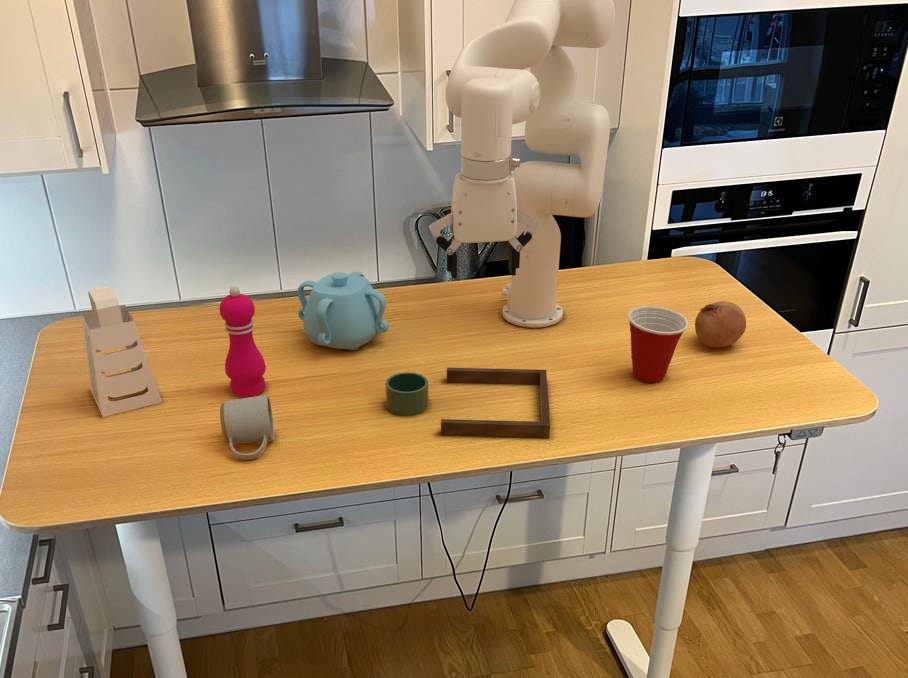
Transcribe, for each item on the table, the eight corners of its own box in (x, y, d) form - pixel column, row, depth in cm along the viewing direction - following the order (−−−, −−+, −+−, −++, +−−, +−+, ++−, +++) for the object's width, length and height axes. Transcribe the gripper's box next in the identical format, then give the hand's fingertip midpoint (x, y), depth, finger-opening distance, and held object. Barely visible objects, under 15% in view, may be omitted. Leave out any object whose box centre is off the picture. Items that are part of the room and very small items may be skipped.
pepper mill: (275, 382, 171) (262, 281, 160) (256, 401, 166) (242, 297, 154) (240, 377, 173) (225, 276, 162) (221, 395, 168) (204, 292, 156)
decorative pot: (394, 350, 182) (392, 285, 174) (313, 362, 178) (308, 296, 170) (372, 316, 194) (370, 254, 187) (297, 327, 190) (291, 264, 183)
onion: (698, 362, 183) (683, 323, 177) (707, 331, 188) (693, 292, 182) (747, 356, 177) (733, 315, 171) (755, 324, 182) (742, 284, 177)
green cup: (378, 403, 165) (377, 380, 162) (412, 390, 168) (412, 368, 166) (402, 420, 160) (401, 397, 157) (436, 407, 164) (436, 384, 161)
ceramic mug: (226, 429, 158) (219, 390, 153) (274, 425, 159) (269, 386, 154) (224, 464, 150) (217, 424, 145) (275, 460, 150) (269, 420, 146)
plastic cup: (680, 393, 167) (690, 332, 160) (619, 387, 169) (626, 327, 162) (679, 365, 175) (688, 306, 168) (621, 360, 177) (628, 302, 170)
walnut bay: (440, 435, 156) (440, 422, 155) (447, 379, 172) (447, 367, 170) (549, 438, 155) (550, 425, 153) (545, 381, 171) (546, 369, 169)
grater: (102, 416, 162) (75, 311, 150) (91, 390, 170) (64, 288, 158) (162, 402, 166) (140, 298, 154) (148, 377, 174) (126, 276, 162)
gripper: (536, 158, 144) (530, 262, 154) (426, 162, 143) (427, 267, 153) (546, 172, 138) (539, 280, 148) (431, 176, 137) (432, 285, 146)
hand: (482, 273), depth 150 cm, fingers open, 9 cm apart
